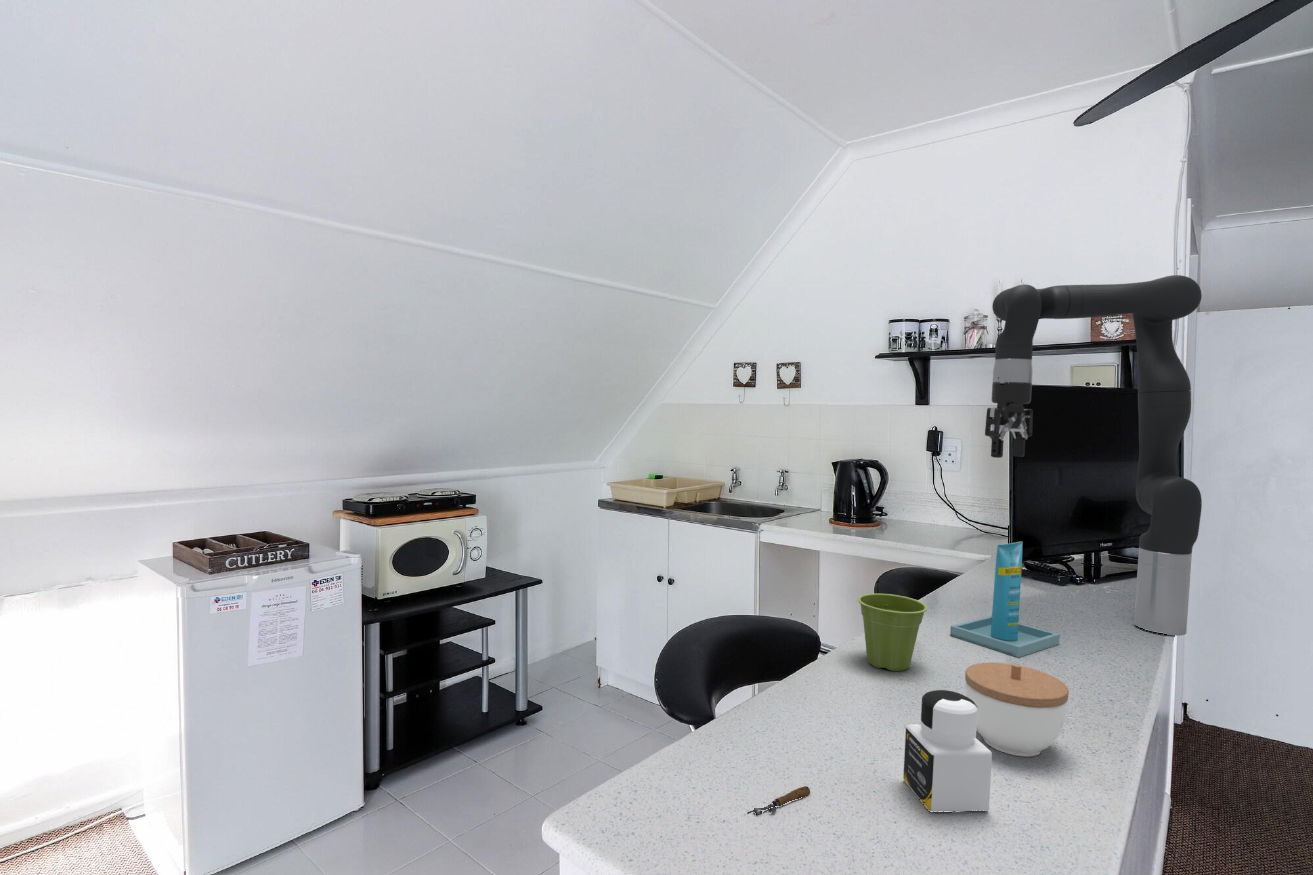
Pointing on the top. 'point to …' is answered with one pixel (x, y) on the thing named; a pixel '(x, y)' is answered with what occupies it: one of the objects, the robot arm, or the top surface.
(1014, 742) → the lidded bowl
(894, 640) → the plant pot
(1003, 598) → the tube
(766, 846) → the top surface
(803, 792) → the can opener
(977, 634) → the tray
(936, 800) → the medicine bottle
